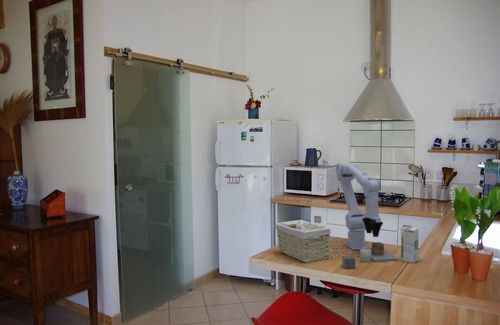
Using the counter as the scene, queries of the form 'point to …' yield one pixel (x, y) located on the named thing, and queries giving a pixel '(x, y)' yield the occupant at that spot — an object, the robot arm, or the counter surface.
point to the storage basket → (304, 240)
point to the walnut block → (377, 248)
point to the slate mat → (382, 257)
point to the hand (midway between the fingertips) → (372, 234)
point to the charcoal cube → (348, 262)
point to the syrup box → (409, 244)
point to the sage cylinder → (365, 255)
